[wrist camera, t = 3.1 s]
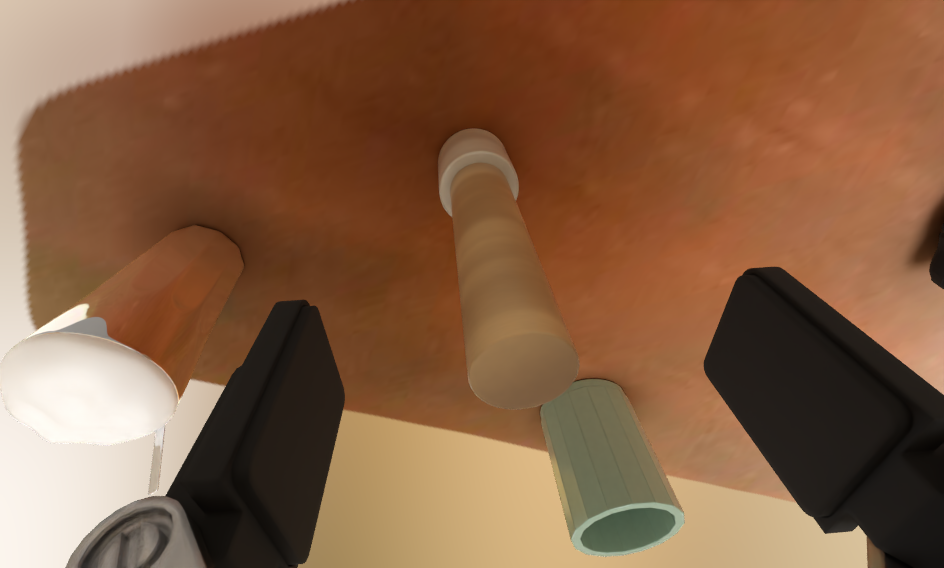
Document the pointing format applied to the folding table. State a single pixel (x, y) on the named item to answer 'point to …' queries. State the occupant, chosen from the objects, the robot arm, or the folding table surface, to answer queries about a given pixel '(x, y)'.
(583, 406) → the cup
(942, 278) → the tape measure
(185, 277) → the milkshake
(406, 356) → the folding table surface
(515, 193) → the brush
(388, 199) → the folding table surface
